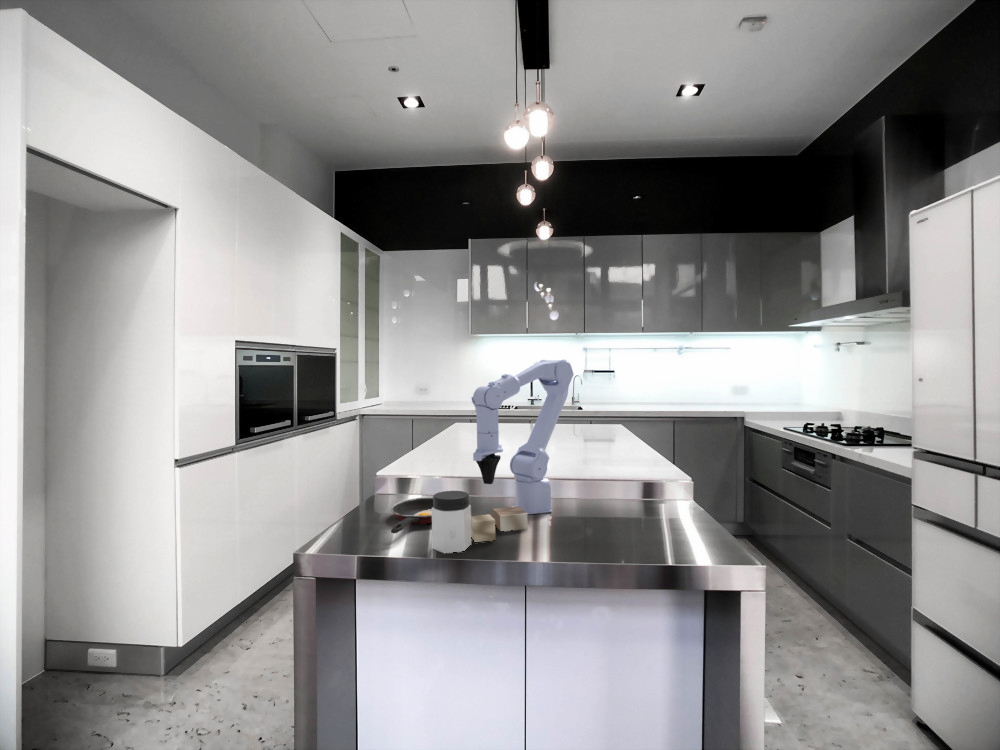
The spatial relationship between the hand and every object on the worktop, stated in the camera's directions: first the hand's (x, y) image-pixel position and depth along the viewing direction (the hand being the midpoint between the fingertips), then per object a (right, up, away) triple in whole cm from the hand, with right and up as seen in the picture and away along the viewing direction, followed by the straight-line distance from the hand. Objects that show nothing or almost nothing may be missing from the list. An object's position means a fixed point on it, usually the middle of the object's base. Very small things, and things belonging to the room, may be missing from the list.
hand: (488, 483), depth 140 cm
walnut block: (+7, -8, -8) cm, 13 cm away
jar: (-8, -11, -19) cm, 23 cm away
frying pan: (-19, -11, -2) cm, 21 cm away
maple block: (-1, -10, -14) cm, 17 cm away
